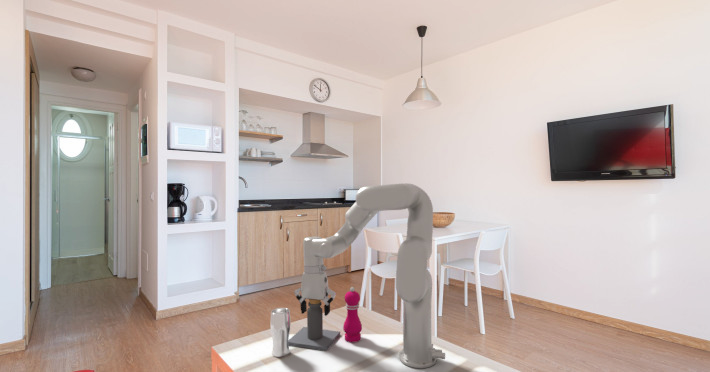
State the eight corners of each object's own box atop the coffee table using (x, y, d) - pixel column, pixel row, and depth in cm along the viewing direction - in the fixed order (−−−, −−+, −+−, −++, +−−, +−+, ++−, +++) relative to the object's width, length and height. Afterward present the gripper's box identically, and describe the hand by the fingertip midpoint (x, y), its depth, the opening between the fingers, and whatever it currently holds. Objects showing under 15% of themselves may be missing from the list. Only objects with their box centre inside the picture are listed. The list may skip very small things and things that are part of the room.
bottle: (325, 336, 131) (325, 297, 131) (314, 341, 127) (313, 301, 127) (315, 331, 135) (315, 294, 135) (304, 336, 131) (304, 298, 131)
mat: (340, 334, 135) (340, 331, 135) (326, 351, 122) (326, 347, 122) (303, 329, 140) (303, 326, 140) (286, 344, 127) (286, 341, 127)
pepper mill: (360, 343, 127) (359, 290, 127) (341, 342, 129) (340, 289, 129) (363, 335, 134) (363, 285, 134) (345, 334, 136) (345, 284, 136)
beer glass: (294, 351, 122) (294, 309, 122) (280, 359, 116) (280, 316, 116) (280, 346, 126) (280, 306, 126) (266, 354, 120) (266, 312, 120)
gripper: (338, 267, 132) (339, 311, 132) (298, 266, 137) (299, 308, 137) (331, 272, 125) (332, 319, 125) (289, 270, 130) (290, 315, 130)
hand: (315, 313), depth 131 cm, fingers open, 9 cm apart
